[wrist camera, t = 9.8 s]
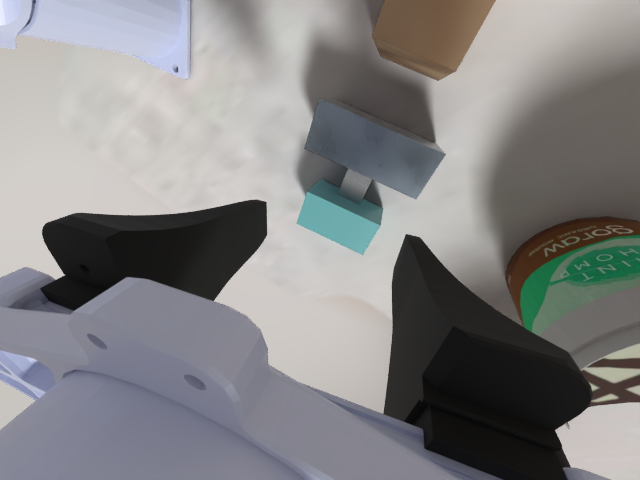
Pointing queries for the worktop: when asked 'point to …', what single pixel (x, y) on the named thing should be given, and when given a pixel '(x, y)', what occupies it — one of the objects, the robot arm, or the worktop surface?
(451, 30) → the walnut block
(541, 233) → the food container
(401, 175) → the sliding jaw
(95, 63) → the worktop surface
